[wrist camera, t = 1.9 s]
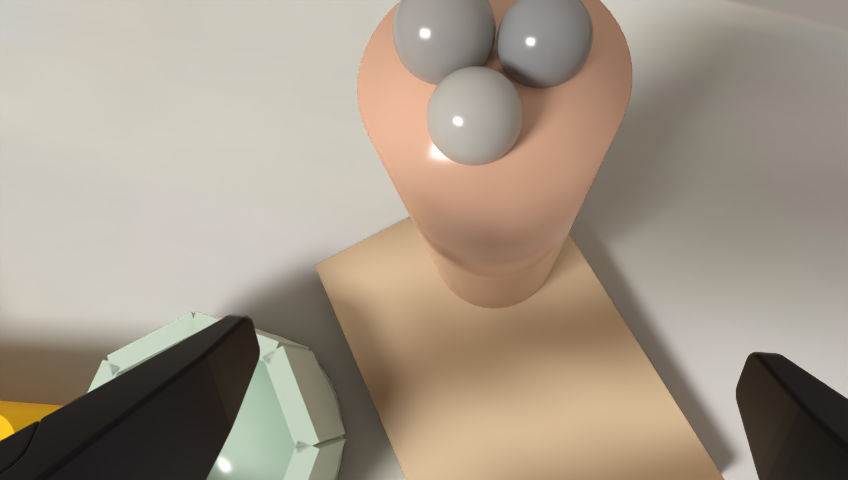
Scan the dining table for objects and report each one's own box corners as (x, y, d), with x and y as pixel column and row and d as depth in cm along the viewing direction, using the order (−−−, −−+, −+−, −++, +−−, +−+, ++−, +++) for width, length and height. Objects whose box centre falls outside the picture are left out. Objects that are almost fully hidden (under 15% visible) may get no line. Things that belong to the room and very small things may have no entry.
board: (715, 479, 18) (727, 484, 17) (467, 607, 18) (465, 620, 17) (520, 168, 22) (521, 158, 21) (322, 270, 22) (314, 265, 21)
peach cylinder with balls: (576, 273, 19) (727, 64, 7) (468, 329, 19) (415, 226, 7) (516, 176, 21) (547, -146, 8) (416, 227, 21) (291, -14, 8)
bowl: (379, 500, 19) (351, 527, 15) (172, 607, 19) (95, 660, 15) (296, 295, 22) (257, 278, 18) (116, 388, 22) (40, 389, 18)
